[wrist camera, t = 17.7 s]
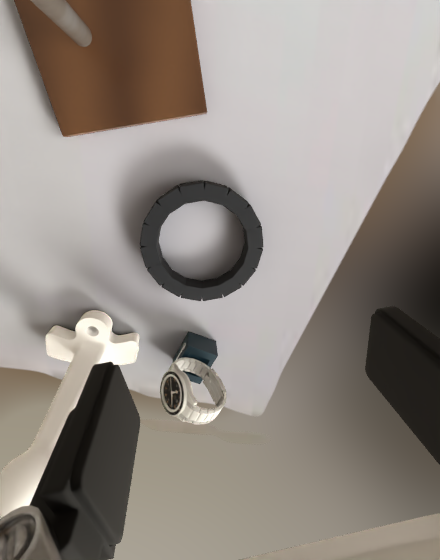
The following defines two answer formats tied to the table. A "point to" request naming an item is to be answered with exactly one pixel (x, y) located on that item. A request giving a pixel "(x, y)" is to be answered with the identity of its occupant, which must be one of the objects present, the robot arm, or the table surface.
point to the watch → (192, 367)
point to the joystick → (64, 398)
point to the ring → (190, 286)
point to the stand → (115, 61)
